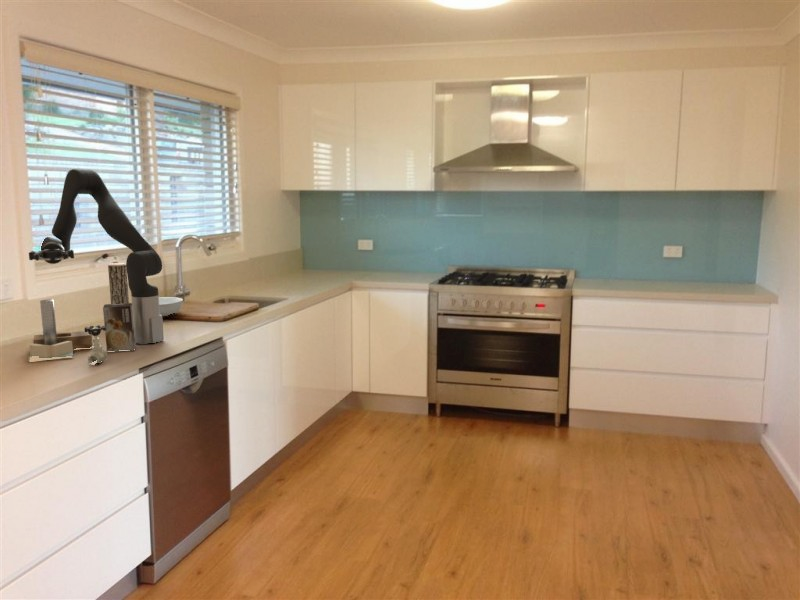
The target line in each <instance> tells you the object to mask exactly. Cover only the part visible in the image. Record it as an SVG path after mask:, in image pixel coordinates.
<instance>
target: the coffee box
mask: <svg viewBox="0 0 800 600" xmlns="http://www.w3.org/2000/svg"><path fill="white" fill-rule="evenodd" d="M102 312H103V313H102V314H103V321H104V322H103V323H104V325H103V326H106V330H105V331H104V334H105V345H106V352H107V351H119V350H134V349H135V350H136V348H137V346H136V345H137V344H136V343H135V335H134V323H133V311H132V302H129V303H122V304H111V303H107V304H104V305H103V307H102ZM135 347H136V348H135Z"/></svg>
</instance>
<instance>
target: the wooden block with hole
mask: <svg viewBox="0 0 800 600" xmlns="http://www.w3.org/2000/svg"><path fill="white" fill-rule="evenodd" d="M65 341H72V346H73V349H76V348H90V347H92V346H93V336H92V335H90V334H89V333H88V331H87V332H85V330H81V331H69V332H58V333H57V343H61V342H65ZM32 342H33V343H32V344H42V345H44V337H43V334H36V335H34V336H33V339H32Z"/></svg>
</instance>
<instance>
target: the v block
mask: <svg viewBox="0 0 800 600" xmlns="http://www.w3.org/2000/svg"><path fill="white" fill-rule="evenodd" d="M73 351H74V349H73V346H72V341H65V342H61V343H58V344H54V345H42V344H33V343H31V344H29V352H30V354H29V357H30V356H31V357H32V356H39V358H52V357H66V356H73ZM74 352H75V351H74ZM73 357H74V356H73Z"/></svg>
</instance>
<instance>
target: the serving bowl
mask: <svg viewBox="0 0 800 600" xmlns="http://www.w3.org/2000/svg"><path fill="white" fill-rule="evenodd" d="M183 304H184V299H183V298H181V297H177V296H176V297H174V296H163V297H162V296H161V297H160V296H159V311H160V315H162V316H166V315H170V314H172V315H174V314H173V313H175V314H177V313H178V312H179V311H180V310H181V309H182V308H183ZM170 316H171V315H170Z"/></svg>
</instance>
